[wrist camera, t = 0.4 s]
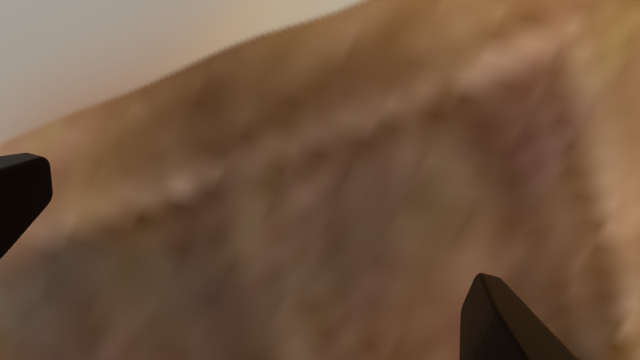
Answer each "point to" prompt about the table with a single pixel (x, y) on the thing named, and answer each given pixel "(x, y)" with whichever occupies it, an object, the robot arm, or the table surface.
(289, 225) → the table surface
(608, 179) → the table surface
